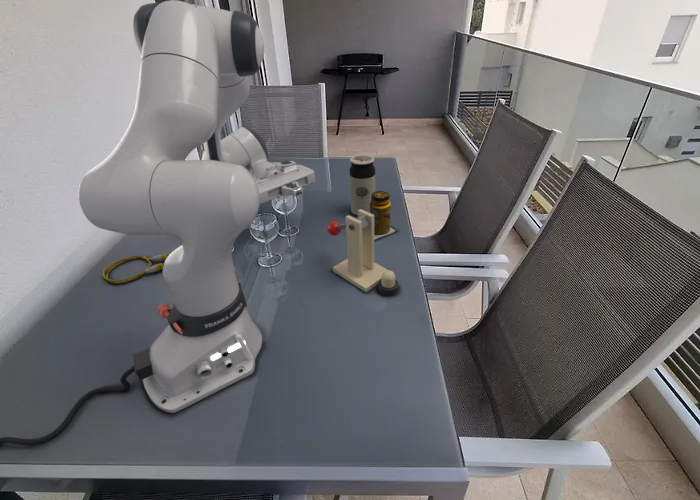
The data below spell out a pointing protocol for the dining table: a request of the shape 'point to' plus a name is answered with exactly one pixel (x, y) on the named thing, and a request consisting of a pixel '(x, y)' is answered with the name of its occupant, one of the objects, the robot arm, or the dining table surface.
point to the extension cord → (147, 270)
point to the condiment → (381, 213)
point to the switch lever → (344, 225)
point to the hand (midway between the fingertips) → (298, 192)
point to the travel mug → (361, 182)
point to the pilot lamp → (388, 284)
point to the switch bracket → (360, 254)
